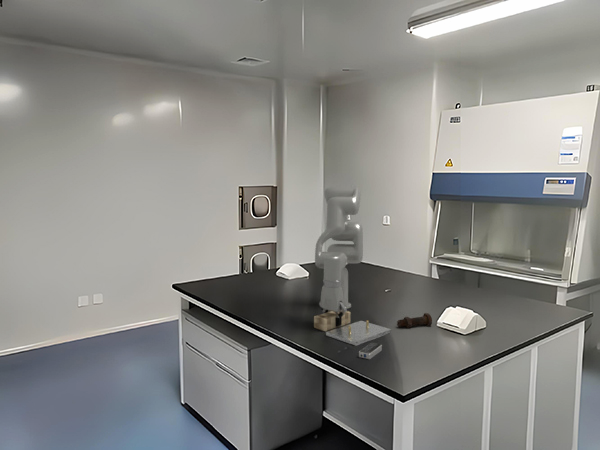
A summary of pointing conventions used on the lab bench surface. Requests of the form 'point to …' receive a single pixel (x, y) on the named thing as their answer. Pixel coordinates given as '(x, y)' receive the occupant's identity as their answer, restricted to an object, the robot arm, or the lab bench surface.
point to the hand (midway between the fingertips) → (332, 323)
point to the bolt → (415, 321)
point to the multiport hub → (370, 350)
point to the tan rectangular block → (330, 320)
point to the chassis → (358, 332)
